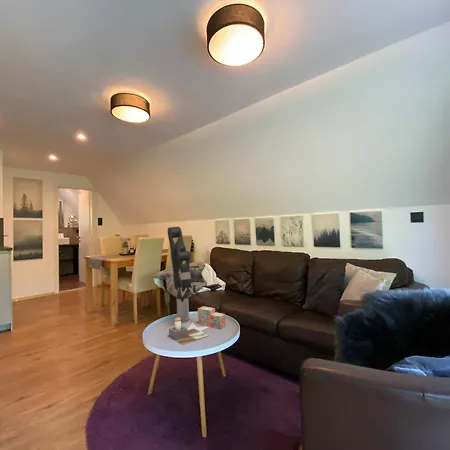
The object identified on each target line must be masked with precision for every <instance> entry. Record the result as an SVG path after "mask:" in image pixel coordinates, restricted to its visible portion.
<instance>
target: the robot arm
mask: <svg viewBox="0 0 450 450" xmlns="http://www.w3.org/2000/svg"><path fill="white" fill-rule="evenodd" d="M167 237H168V242H169V249H170V258H171V264H172V265H171V266H172V273H173V274H172V276H173V287H174V289H175V290H176V291H177V294H176V315H177V316H176V317H180V318H181V322H184V321H188V320H190V309H189V306H190V303H189V293H190V297H191V300H194V299H195V294H196V293H197V288H196V285H195V284H192V277H191V269H190V266H191V265H190V264H191V258H192V257H191V256H192V255H191V252H190V251H189V250H187V248H186V245H185V243H184V237H183V231H182V228H181V227H180V226H170V227H168V228H167ZM174 239H177V240H176V242H175V240H174ZM184 261H185V262H184ZM183 262H184V263H183Z"/></svg>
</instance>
